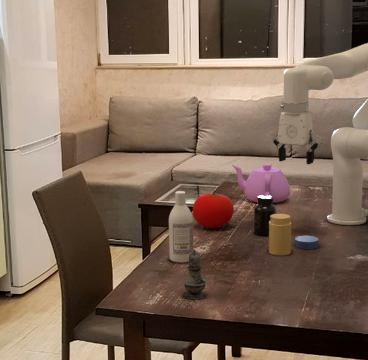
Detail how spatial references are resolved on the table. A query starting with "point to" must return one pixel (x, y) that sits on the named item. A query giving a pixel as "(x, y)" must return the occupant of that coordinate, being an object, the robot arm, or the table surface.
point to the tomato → (213, 210)
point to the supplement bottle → (263, 215)
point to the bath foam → (180, 230)
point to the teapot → (264, 183)
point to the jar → (280, 234)
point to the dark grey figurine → (194, 278)
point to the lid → (306, 242)
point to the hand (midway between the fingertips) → (295, 162)
